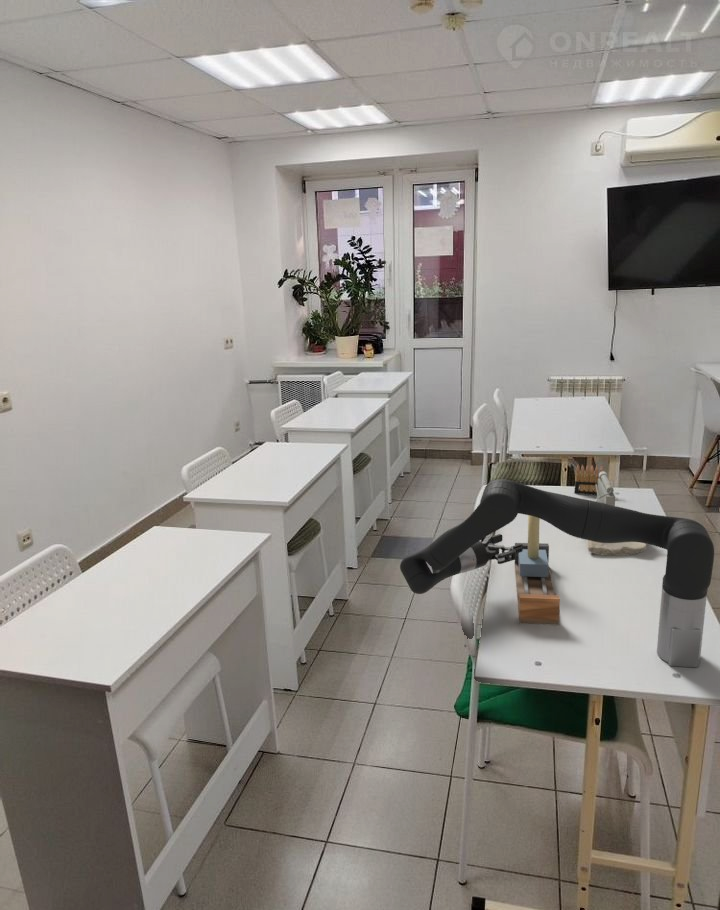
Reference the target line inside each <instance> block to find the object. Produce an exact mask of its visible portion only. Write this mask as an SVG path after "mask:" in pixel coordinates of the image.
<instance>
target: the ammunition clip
mask: <svg viewBox="0 0 720 910" xmlns="http://www.w3.org/2000/svg"><path fill="white" fill-rule="evenodd" d="M580 467H581V468H580ZM602 471H604V468H603V465H601V466H600V468H599V467H598V465H596V466H595V469H594V465H593V464H592V465H591V466H590V467H589V465H588V464H587V465H586V467H585V466H584V464H581V466H580V465H579V464H577V466H576V469H575V476H574V478H575V479H574V493H573V494H576V495H577V494H578V495H591V494H592V495H593V496H597V490H596V484H597V487H598V479H600V478H599V473H600V472H602ZM594 494H595V495H594Z"/></svg>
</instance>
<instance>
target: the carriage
mask: <svg viewBox="0 0 720 910" xmlns="http://www.w3.org/2000/svg"><path fill="white" fill-rule="evenodd" d="M540 520H541V519H540V518H537V517H534V516H530V515H527V543H528V549H523V551H522V552H520V553H519V555H518V562H519V572H520V576H526V577H548V568H549V569H550V565H549V562H548V559H547V554H546V550H539V543H540Z"/></svg>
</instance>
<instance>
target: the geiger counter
mask: <svg viewBox="0 0 720 910" xmlns="http://www.w3.org/2000/svg"><path fill="white" fill-rule="evenodd" d="M598 475H599V478H600V479H598V487H597V484H596V490H597V495H596V502H600V503H605V504H608V505H612V506H616V495H615V493H614V490H615V489H614V487H613V486H612V482H611V481H610V480H609V475H608V473H607V472H606V471H604V470H603V471H602V472H600V471H599V472H598Z"/></svg>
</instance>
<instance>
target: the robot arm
mask: <svg viewBox="0 0 720 910" xmlns="http://www.w3.org/2000/svg"><path fill="white" fill-rule="evenodd" d="M481 495H482V496H481V498H480V502H479V504H478V506H477V507H476V508H475V510H473V512H472V513H470V515H469V516H468V517H467V518H466V519H465V520H464V521H462V522H461V523H460V524H458V525H456V526H454V527H452V528H450V529H448V530H446V531H445V532H443V533H442V534H440V535H439V536H438V537H437V538H436V539H435V540H434V541H433V542H431V543H430V544H429V545H427V547H425V548H423V549H421V550H418V551H417V552H414V553H411V554H409V555H407V556H405V557H404V558H402V560H401V562H400V565H399V569H400V572H401V574H402V575H403V578H404V579H405V582H406V583H407V585H408V587H409V589H410V590H411V591H412V593H414V594H416V595H422V594H426V593H428V591H430V590H431V589H433V588H434V587H435V586H436V585H438V584H439V583H440V582H442V581H444V580H446V579H447V578H451V577H453V576H456V575H459V574H465V573H467V572H468V573H469V572H471V571H474V570H476V569H479V568H482V567H484V566H486V565H487V564H488V562H489V561H491V560H496V561H497V564H498V565H502V564H506V563H509V562H512V561H515V559H516V554H517V553H520V552H522V551H523V545H522V544H518V545H515V544H514V545H512V546H504V545H498V543H502V542H503V535H502V534H501V533H498V534H496V535H492V536H489V535H491V534H494V533H495V532H496V531H499V530H500V529H502V528H504V527H506V526H507V525H509V524H510V523H512V522H513V521H515V520H516V518H517V517H518V514H521V515H526V516H528V515H530V516H534V517H537V518H540V520H543V521H544V522H547V523H548V524H550V525H551V526H554V528H556V529H557V530H559V531H561V532H563V533H564V534H567V535H569V536H572V537H575V538H577V539H581V540H585V541H586V540H587V541H588V540H590V541H594V542H599V543H622V542H640V543H645V544H647V545H651V546H654V547H657V548H661V549H663V550H666V552H667V553H666V565H665V574H664V575H663V577H662V586H661V598H660V607H659V608H660V609H659V621H658V633H657V642H656V644H657V645H656V653H657V655H658V657H659V658H660V659H661V660H662V661H664V662H666V663H667V664H668V665H669V666H671V667H685V668H687V667H688V668H698V667H699V663H700V661H701V655H702V647H703V645H702V644H703V634H704V624H705V618H706V617H705V614H706V607H707V596H708V589H709V587H710V586H711V581H712V575H713V567H714V559H715V547H714V546H715V545H714V544H713V543H714V542H713V541H712V539H711V536H710V534H709V533H708V530H707V529H706V527H704V525H703V524H701V523H700V522H698V521H697V520H694V519H690V518H684V517H676V516H669V515H659V514H652V513H645V512H641V511H637V510H634V509H630V508H625V507H620V506H616V505H615V506H612V505H608V504H605V503H600V502H597V500H591V499H584V498H579V497H575V496H570V495H566V494H562V493H556V492H552V491H551V492H550V491H547V490H542V489H540V488H536V487H533V486H531V485H530V486H529V485H527V484H523V483H520V482H517V481H514V480H511V479H507V478H498V479H497V478H496V479H493V480H491V481H490V482H488V483H487V484H486V485H485V487H484V490H483V492H482V494H481ZM496 544H497V545H496ZM500 550H501V552H500ZM430 567H431V569H430Z"/></svg>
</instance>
